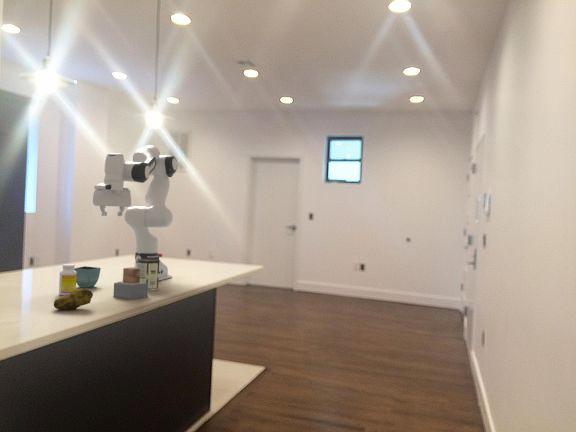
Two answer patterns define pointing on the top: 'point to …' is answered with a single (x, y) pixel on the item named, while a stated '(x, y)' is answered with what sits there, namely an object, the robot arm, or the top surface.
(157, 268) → the coffee can
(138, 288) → the slate base
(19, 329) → the top surface
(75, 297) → the potato
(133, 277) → the walnut block
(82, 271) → the flower pot
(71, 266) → the supplement bottle
